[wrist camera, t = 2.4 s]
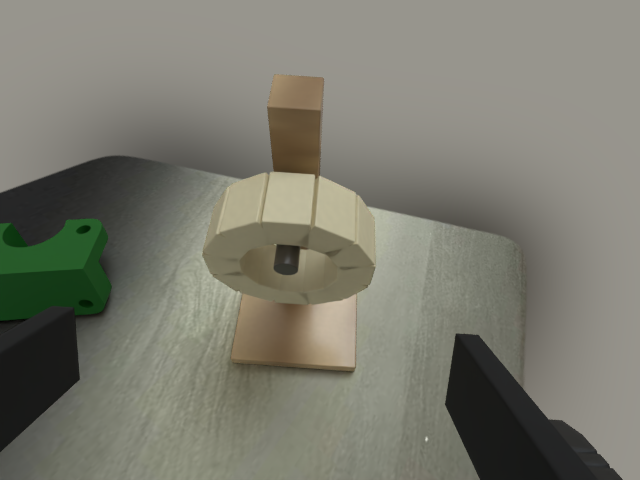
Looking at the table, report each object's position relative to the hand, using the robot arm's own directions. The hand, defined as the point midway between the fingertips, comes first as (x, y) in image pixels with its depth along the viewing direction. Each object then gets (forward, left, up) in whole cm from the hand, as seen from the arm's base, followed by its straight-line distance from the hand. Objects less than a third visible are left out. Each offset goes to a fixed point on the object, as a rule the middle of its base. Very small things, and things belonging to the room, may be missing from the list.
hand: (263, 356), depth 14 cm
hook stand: (+3, -9, -19) cm, 21 cm away
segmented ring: (+2, -7, -10) cm, 12 cm away
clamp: (+24, -3, -19) cm, 31 cm away
